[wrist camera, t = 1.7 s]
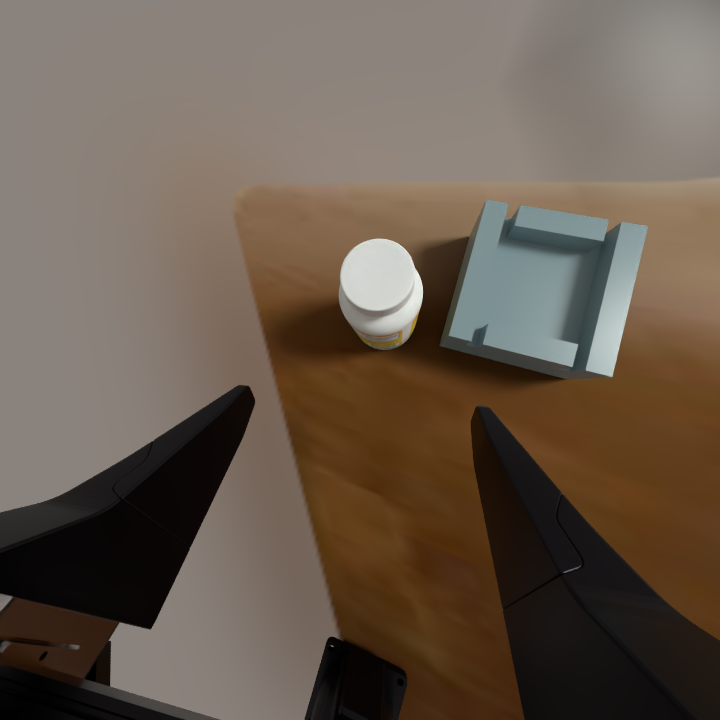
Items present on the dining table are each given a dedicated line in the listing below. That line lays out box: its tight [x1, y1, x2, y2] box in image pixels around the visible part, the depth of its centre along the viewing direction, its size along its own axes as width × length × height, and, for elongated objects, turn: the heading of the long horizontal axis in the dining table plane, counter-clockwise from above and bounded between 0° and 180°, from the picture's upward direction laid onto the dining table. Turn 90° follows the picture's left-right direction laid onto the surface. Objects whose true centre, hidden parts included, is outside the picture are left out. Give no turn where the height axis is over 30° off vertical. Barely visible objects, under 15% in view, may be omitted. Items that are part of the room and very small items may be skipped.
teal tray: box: [439, 200, 648, 379], centre depth 20 cm, size 10×10×4 cm
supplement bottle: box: [339, 239, 423, 350], centre depth 19 cm, size 5×5×10 cm
